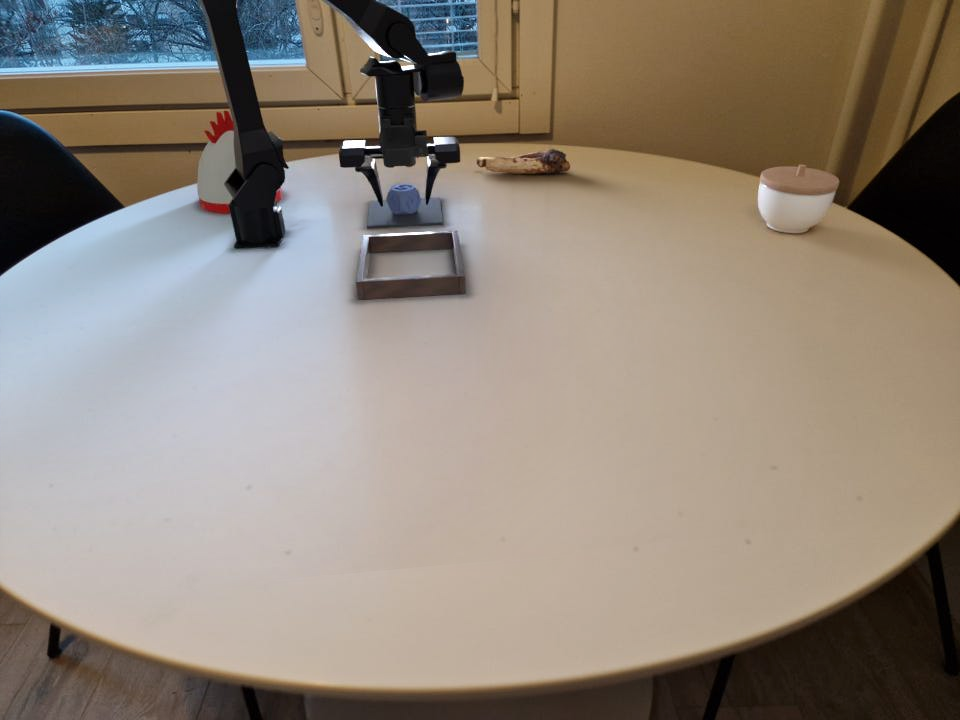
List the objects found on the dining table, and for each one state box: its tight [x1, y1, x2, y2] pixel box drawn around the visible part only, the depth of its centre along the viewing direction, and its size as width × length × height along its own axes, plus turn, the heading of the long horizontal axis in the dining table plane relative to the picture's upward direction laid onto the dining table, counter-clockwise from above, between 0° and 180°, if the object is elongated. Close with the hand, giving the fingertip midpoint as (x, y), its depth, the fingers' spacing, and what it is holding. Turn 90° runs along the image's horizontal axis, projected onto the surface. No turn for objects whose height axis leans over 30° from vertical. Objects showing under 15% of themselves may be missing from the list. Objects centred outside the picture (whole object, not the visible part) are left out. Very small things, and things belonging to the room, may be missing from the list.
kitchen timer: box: [196, 109, 283, 214], centre depth 111 cm, size 14×14×15 cm
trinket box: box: [757, 163, 840, 234], centre depth 98 cm, size 11×11×9 cm
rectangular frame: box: [355, 230, 467, 301], centre depth 88 cm, size 14×16×2 cm
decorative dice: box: [386, 183, 422, 215], centre depth 106 cm, size 4×4×4 cm
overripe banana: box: [476, 148, 571, 175], centre depth 126 cm, size 9×5×18 cm
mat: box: [366, 197, 444, 229], centre depth 108 cm, size 12×12×1 cm
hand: (404, 204), depth 107 cm, fingers open, 7 cm apart
